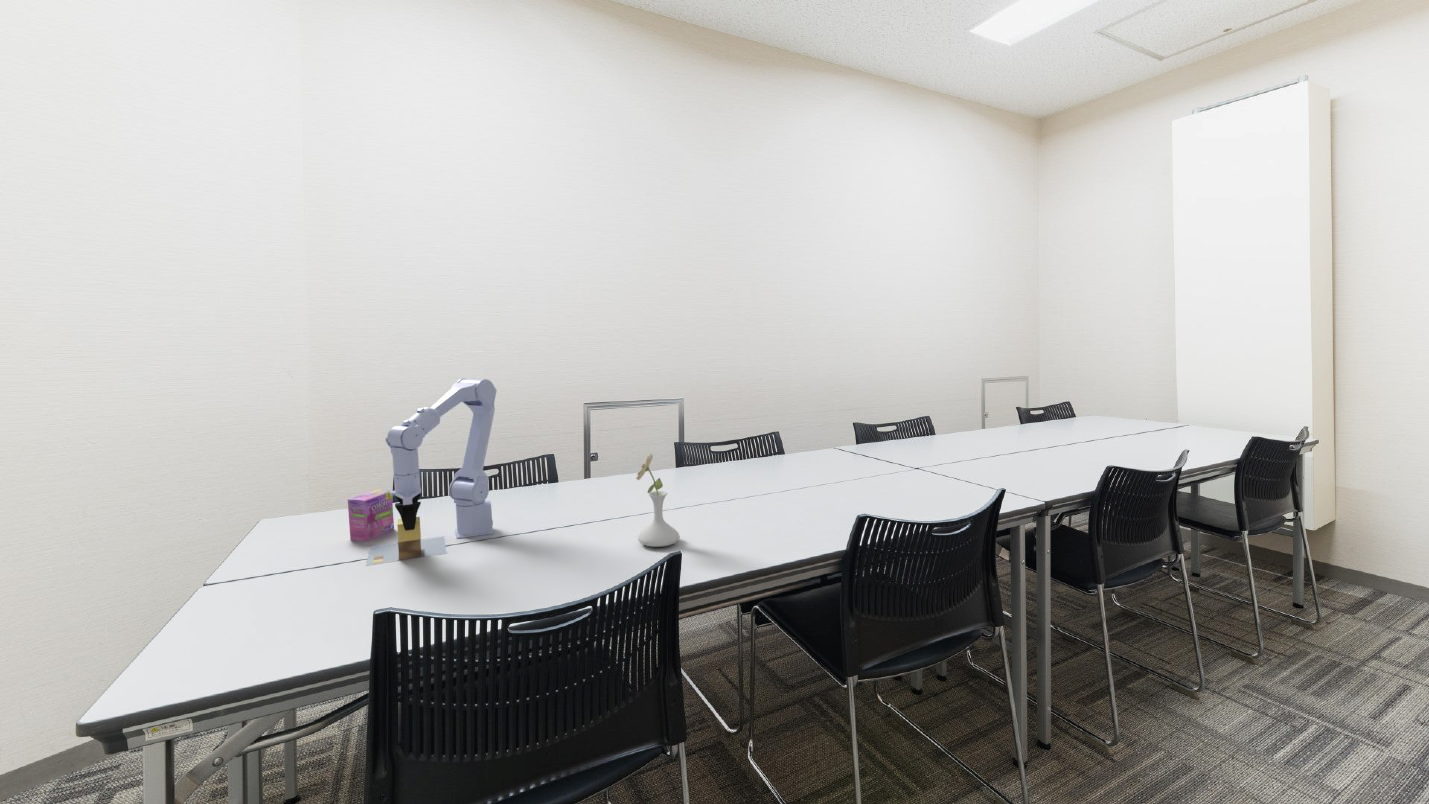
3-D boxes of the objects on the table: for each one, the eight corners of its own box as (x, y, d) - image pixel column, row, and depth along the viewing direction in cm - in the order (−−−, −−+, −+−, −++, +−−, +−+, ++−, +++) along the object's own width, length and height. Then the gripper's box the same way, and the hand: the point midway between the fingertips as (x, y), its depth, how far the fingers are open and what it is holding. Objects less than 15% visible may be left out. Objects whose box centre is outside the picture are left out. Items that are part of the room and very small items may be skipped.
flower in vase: (653, 533, 167) (652, 446, 165) (687, 540, 162) (686, 450, 159) (624, 548, 156) (622, 455, 153) (660, 555, 150) (658, 459, 148)
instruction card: (444, 536, 166) (444, 535, 166) (446, 554, 152) (446, 553, 152) (370, 547, 158) (370, 546, 158) (365, 566, 144) (365, 565, 144)
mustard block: (399, 536, 152) (397, 519, 151) (420, 533, 154) (419, 516, 154) (398, 542, 148) (397, 524, 147) (420, 539, 150) (419, 521, 149)
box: (367, 542, 162) (364, 500, 161) (349, 540, 163) (346, 499, 162) (395, 530, 172) (392, 490, 171) (378, 528, 173) (375, 489, 172)
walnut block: (421, 550, 155) (420, 533, 154) (421, 556, 150) (420, 539, 150) (399, 553, 152) (398, 536, 152) (399, 559, 148) (397, 542, 147)
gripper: (389, 469, 154) (393, 519, 155) (387, 481, 141) (391, 536, 142) (420, 466, 157) (423, 516, 158) (420, 477, 144) (423, 531, 146)
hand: (410, 525), depth 151 cm, fingers open, 7 cm apart
